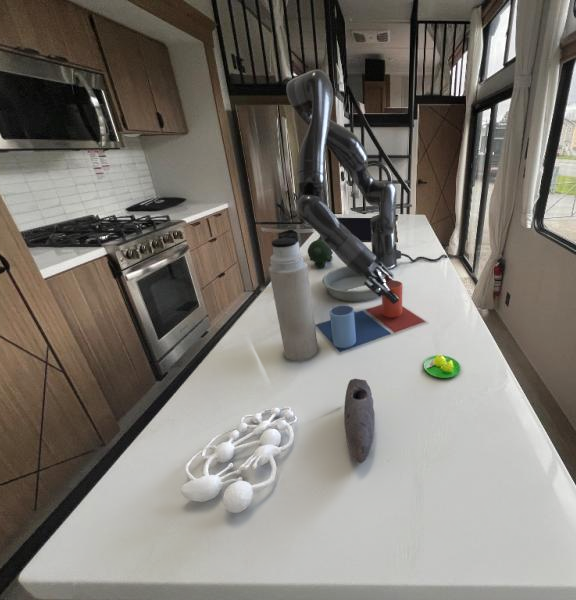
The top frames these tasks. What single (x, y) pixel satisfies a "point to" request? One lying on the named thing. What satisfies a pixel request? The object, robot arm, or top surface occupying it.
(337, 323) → the blue tumbler
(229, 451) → the tangled rod sculpture
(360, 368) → the top surface
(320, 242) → the toy figurine
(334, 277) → the cake pan
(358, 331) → the blue mat
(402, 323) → the red mat
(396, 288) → the red tumbler
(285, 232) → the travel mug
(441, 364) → the green plate with lumps
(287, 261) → the thermos bottle
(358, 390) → the perforated stone tool
